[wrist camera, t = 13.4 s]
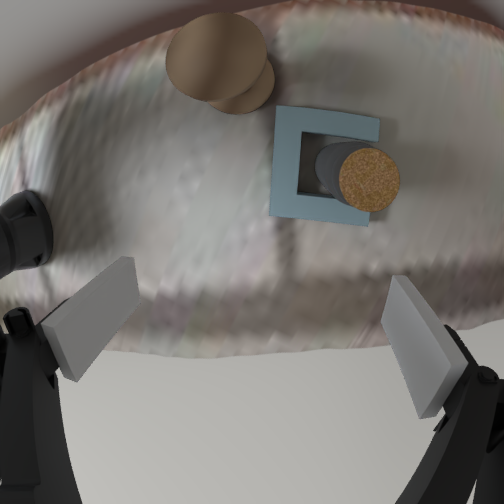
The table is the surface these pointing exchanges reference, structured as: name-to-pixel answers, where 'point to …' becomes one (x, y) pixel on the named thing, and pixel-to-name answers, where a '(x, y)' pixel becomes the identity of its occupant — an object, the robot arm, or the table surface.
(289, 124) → the bracket
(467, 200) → the table surface
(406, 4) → the table surface
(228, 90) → the wooden spool
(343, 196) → the bottle
